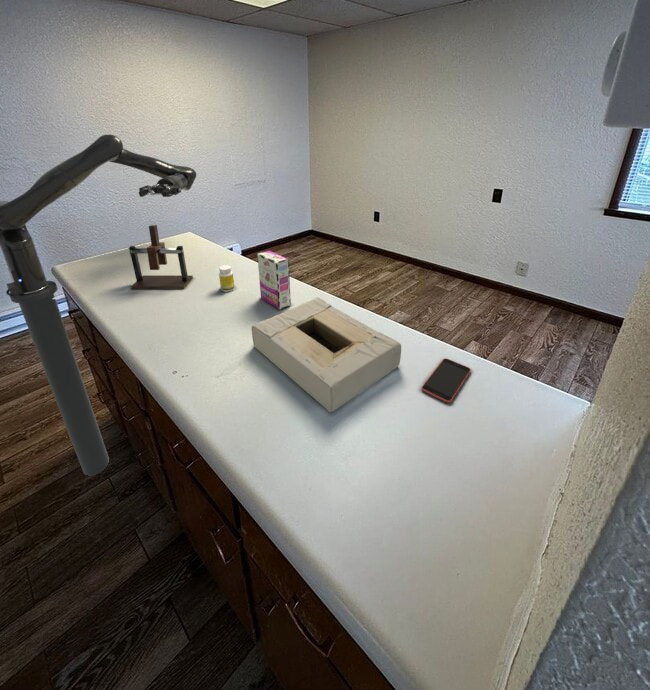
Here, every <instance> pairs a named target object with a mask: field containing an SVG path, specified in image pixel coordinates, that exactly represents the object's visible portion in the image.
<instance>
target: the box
mask: <svg viewBox="0 0 650 690" xmlns="http://www.w3.org/2000/svg"><path fill="white" fill-rule="evenodd" d="M251 335H252V337H251V339H252V343H253V346H254V347H255V348H256V350H257V351H259V353H261V354H263V355H264V357H266V358H267V359H268V360H269V361H270V362H272V363H273V364H274V365H275V366H276V367H277V368H279V370H281V371H282V372H283V373H284V374H286V375H287V376H288V377H289V378H290V379H291V380H292V381H294V383H296V384H297V385H298V387H300V388H301V389H303V390H304V391H305V392H306V393H307V394H308V395H310V396H311V397H312V398H313V399H314V400H315V401H316V402H317V403H318V404H320V405H321V406H322V407H323V408H325V409H326V410H327V411H328V412H329V413H333V412H335V411H336V410H337V409H339V408H341V407H342V406H343V405H344V404H346V403H348V402H349V401H351V400H352V399H354V398H355V397H356V396H358V395H359V394H360V393H362V392H364V391H366V389H368V388H369V387H371V386H372V385H374V384H375V383H376V382H378V381H380V380H381V379H382V378H384V377H385V376H387V375H388V374H390V373H391V372H393V370H395V369H397V368H398V367H399V366H400V364H401V357H402V344H401V343H400V342H399V341H397V340H396V339H394V338H393V337H390V336H388V335H385V334H384V333H383V332H381V331H377V330H375V328H374V329H373V328H371V327H370V326H368V325H367V324H365V323H364V322H362V321H359V320H358V319H356V318H354V317H352V316H350V315H348V314H347V313H345V312H343V311H342V310H339V309H338V308H337V307H335V306H333V305H331V304H330V303H328V302H326V300H324V299H323V298H321V297H315V298H313V299H311V300H309V301H307V302H304V303H301V304H300V305H297V306H295V307H293V308H291V309H288V310H286V311H283V312H281V313H279V314H276V315H274V316H272V317H269V318H268V319H264V320H262V321H260V322H257V323H254V324H252V325H251Z"/></svg>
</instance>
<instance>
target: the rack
mask: <svg viewBox="0 0 650 690" xmlns="http://www.w3.org/2000/svg"><path fill="white" fill-rule="evenodd" d="M183 246H184V245H178V246H176V247H165V248H160V249H158V250H157V253H158V254H166V255H167V254H169V255H177V258H178V263H179V269H180V275H175V274H174V275H173V274H172V275H171V274H170V275H168V274H167V275H166V274H165V275H154V274H153V275H151V274H150V275H149V274H148V275H143V273H142V269H141V265H140V261H139V257H138V255H142V254H146V255H148V254H147V247H137V246H136V245H130V246H129V247H128V250H129V255H130V259H131V263H132V269H133V272H134V276H135V282H134V283H133V284H132V285H131V286H130V288H131V290H185V289H186V288H187V286H188V285H189V284H190V283H191V281H192V280H193V279H194V278H193V277H194V276H193V275H188V269H187V264H186V258H185V251H184V247H183Z"/></svg>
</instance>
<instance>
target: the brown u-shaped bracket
mask: <svg viewBox="0 0 650 690" xmlns="http://www.w3.org/2000/svg"><path fill="white" fill-rule="evenodd" d="M148 231H149V232H148V233H149V237H150V245H149V246H147V247H146V248H147V254H146V255H147V259H148V265H149V271H159V270H160V268H161V267H160V266H166V265H168V258H167V254H158V253H157V250H158V249H160V248H166V245H165V242H164V241H163V242H162V241H161V242H160V237H159V229H158V225H157V224H150V225H148Z"/></svg>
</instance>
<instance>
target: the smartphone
mask: <svg viewBox="0 0 650 690" xmlns="http://www.w3.org/2000/svg"><path fill="white" fill-rule="evenodd" d="M471 370H472V369H471V368H470V367H468V366H466V365H464V364H461V363H458V362H456V361H454V360H452V359H449V358H443V359H442V360H441V362H439V364H438V365H437V366H436V368H435V369H434V370H433V371H432V373H431V374H430V376H429V377H428V378H427V379H426V380H425V382H424V383H423V384H422V385H421V391H423V392H424V393H426V394H427V395H429V396H432V397H434V398H436V399H438V400H440V401H443V402H445V403H446V404H447V403H448V404H450V403H452V401H453V400H454V399H455V396H456V395H457V394H458V393H459V391H460V389H461V387H462V385H463V384H464V382H465V381H466V379H467V378H468V376H469V375H470V373H471Z"/></svg>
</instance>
